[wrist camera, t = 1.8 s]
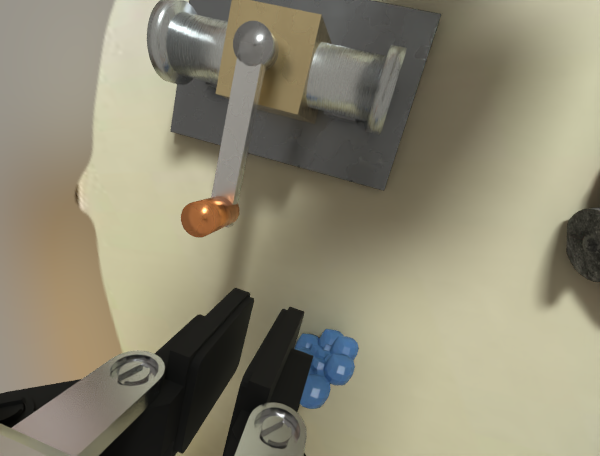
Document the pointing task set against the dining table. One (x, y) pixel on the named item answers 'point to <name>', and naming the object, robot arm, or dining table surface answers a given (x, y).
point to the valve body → (300, 77)
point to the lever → (235, 131)
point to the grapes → (326, 364)
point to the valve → (585, 243)
